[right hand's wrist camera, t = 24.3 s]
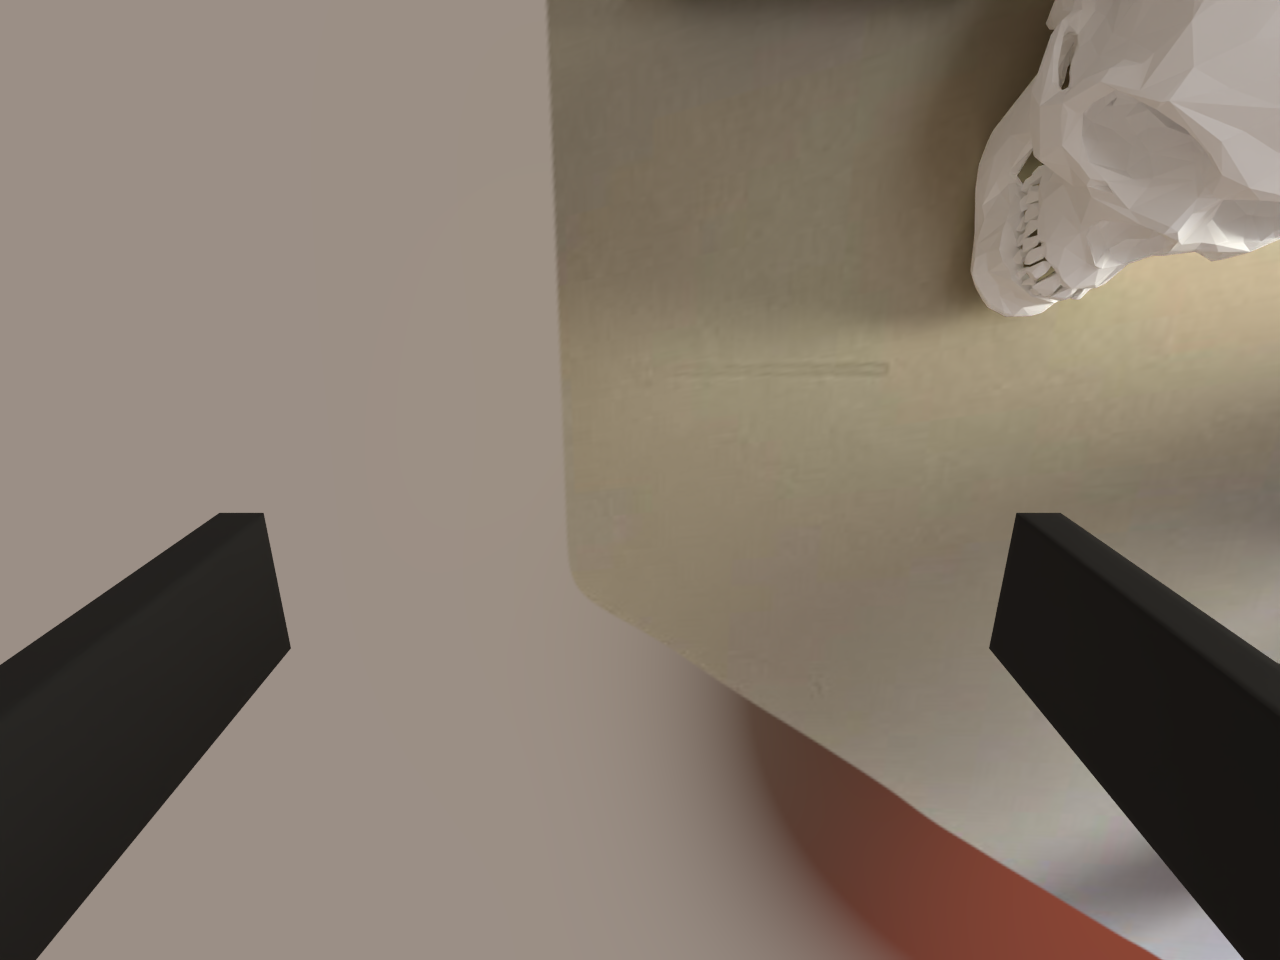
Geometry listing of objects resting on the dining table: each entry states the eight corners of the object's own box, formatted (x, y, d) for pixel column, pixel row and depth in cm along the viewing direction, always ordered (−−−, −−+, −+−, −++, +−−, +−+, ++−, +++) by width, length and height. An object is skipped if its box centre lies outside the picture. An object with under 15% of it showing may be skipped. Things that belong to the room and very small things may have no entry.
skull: (883, 269, 38) (1054, 306, 23) (1122, -214, 31) (1589, -607, 16) (1087, 358, 40) (1363, 444, 25) (1354, -75, 33) (1954, -308, 18)
